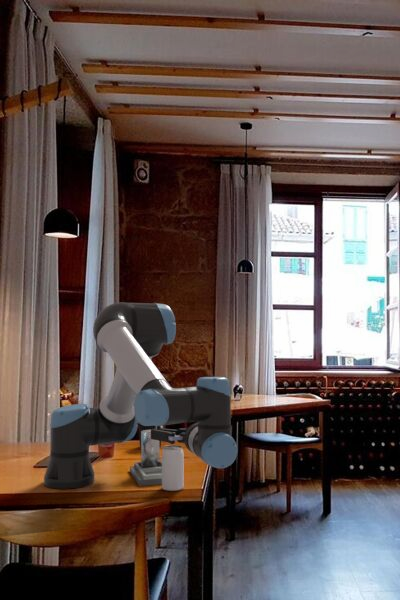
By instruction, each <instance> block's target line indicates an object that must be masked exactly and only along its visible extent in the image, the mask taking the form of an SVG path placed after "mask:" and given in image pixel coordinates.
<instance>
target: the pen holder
mask: <svg viewBox="0 0 400 600" xmlns="http://www.w3.org/2000/svg"><path fill="white" fill-rule="evenodd" d="M151 429H156V426H143V425H141V424H140V423H139V422H138V436H139V448H140V449H141V431H143V430H151ZM161 447H162V441H159V449H160V448H161Z"/></svg>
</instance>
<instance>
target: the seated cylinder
mask: <svg viewBox="0 0 400 600" xmlns="http://www.w3.org/2000/svg"><path fill="white" fill-rule="evenodd" d="M140 453H141V454H140V462H141V468H149V467H159V461H160V448H159V441H158V440H152V439H151V430H143V431H141V448H140Z"/></svg>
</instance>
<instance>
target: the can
mask: <svg viewBox="0 0 400 600" xmlns="http://www.w3.org/2000/svg"><path fill="white" fill-rule="evenodd" d="M184 454H185V452H184V450H183V446H182V445H178V444H177V445H176V444H169V445H164V446H163V449H162V452H161V461H162V484H161V488H162V489H163V490H164V491H166V492H179V491H182V490H183V489H184V486H185V479H184V478H185V476H184V475H185V474H184V473H185V472H184V471H185V470H184V464H185V461H184V459H185V458H184V457H185V456H184Z"/></svg>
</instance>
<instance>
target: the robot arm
mask: <svg viewBox="0 0 400 600" xmlns="http://www.w3.org/2000/svg"><path fill="white" fill-rule="evenodd" d="M176 325H177V324H176V317H175V315H174V312H173V310H172V309H171V307H170V306H169V305H167V304H164V303H157V302H153V303H145V302H142V303H141V302H121V301H120V302H114V303H112V304H109V305H107V306H106V307H104V308H103V309H102V310H101V311H99V313H98V315H97V316H96V318H95V320H94V322H93V329H92V330H93V331H92V333H93V338H94V341H95V343H96V344H97V346H98V347H99V349H100V350H102V352H104V353H107V354H108V355H109V357H110V358H111V360H112V361H113V364H114V365H115V366H116V367H117V369H116V371H115V374H114V377H113V380H112V382H111V386H110V389H109V391H108V393H107V396H105V397H103V398H102V399H101V400H100V402H99V405H98V407H90V405H89V404H88V403H78V404H76V403H75V404H69V405H65V406H62V407H58V408H56V409H54V410H53V411H52V413H51V417H50V425H49V427H50V443H49V444H50V453H49V456H50V457H49V462H48V464H47V466H46V469H45V470H46V471H45V473H44V475H43V476H44V477H43V485H44V486H45V487H47V488H49V489H57V490H62V489H63V490H65V489H66V490H67V489H68V490H69V489H76V488H77V489H78V488H82V487H86V486H89V485H91V484H93V483H94V482H95V470H94V469H93V465H92V461H91V458H90V446H98V445H101V444H111V443H115V444H121V443H123V442H129V441H130V440H132V439H133V438H134V437H135V435H136V433H137V431H138V428H139V423H140V424H141V425H143V426H156V429H151V439H152V440H158V441H161V442H164V443H169V445H175V444H176V442H178V443H179V444H181V443H182V444H185V447H186V448H187V449H188V451H189V452H191V453H192V454H193V455H195V456H197V457H198V458H199V459H201V460H202V461H203V462H204V463H205V464H206V465H208V466H210V467H212V468H216V469H225V468H229V466H231V465H232V464H233V463H234V462H235V460H236V459H237V456H238V445H237V442H236V441H235V439H234V437H233V436H232V423H231V402H232V400H231V398H232V394H231V393H232V391H231V384H230V381H229V379H228V378H227V377H223V376H203V377H198V378H197V380H196V385H195V386H187V387H172V386H171V385H170V383H169V382H168V380H166V379H165V377H164V376H163V374H162V373H161V372H160V370H159V369H158V368H157V366H156V365H155V364H154V362H153V361H152V359H153V357H156V356H158V355H159V354H160V353H161V350H162V347H163V345H169V344H172V343H173V342H174V341H175V338H176V334H177V326H176ZM183 423H193V424H191V425H189V426H188V428H183V427H182V428H177V429H172V428H171V429H170V428H164V426H167V425H176V424H177V425H178V424H183Z"/></svg>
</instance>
